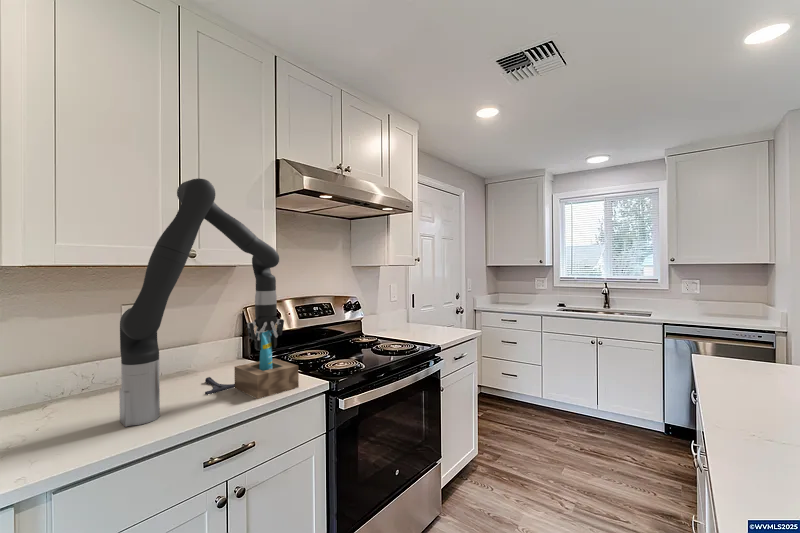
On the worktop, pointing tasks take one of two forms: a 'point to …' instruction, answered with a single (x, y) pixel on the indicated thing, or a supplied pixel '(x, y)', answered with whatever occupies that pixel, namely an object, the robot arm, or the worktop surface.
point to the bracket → (217, 386)
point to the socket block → (266, 378)
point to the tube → (266, 351)
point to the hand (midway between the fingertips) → (266, 348)
